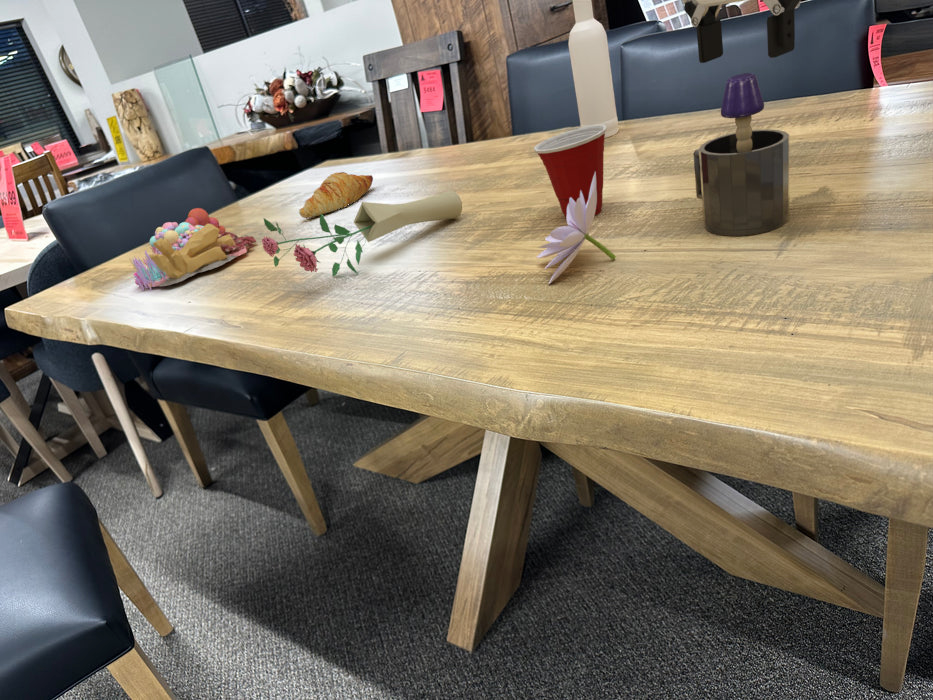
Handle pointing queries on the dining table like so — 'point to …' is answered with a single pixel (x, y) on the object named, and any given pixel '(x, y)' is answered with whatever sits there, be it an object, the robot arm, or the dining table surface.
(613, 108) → the bottle
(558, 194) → the plastic cup
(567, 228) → the water lily
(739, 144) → the toy lamp
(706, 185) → the mug
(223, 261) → the pastel sphere sculpture
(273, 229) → the flower vase
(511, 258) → the dining table surface
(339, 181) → the croissant
